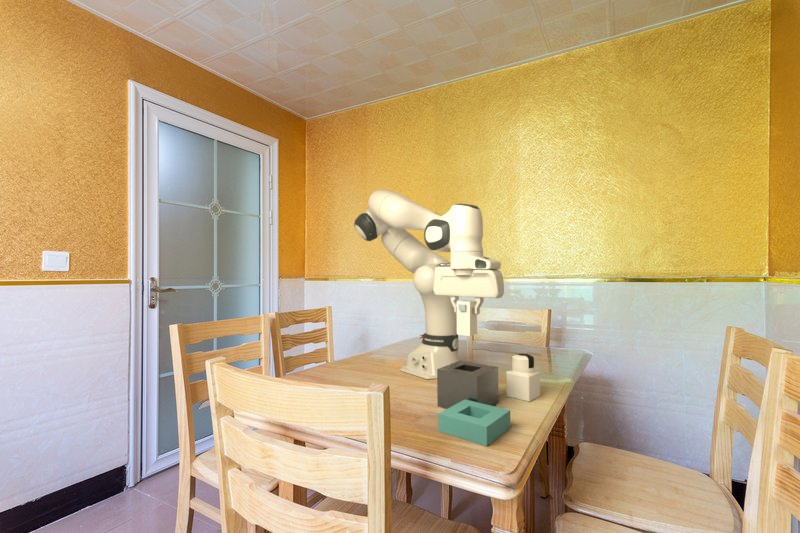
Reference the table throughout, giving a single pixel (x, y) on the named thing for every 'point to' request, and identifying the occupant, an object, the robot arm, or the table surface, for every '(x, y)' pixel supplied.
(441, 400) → the dark grey square frame
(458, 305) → the plug
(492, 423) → the block
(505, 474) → the table surface
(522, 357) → the medicine bottle
